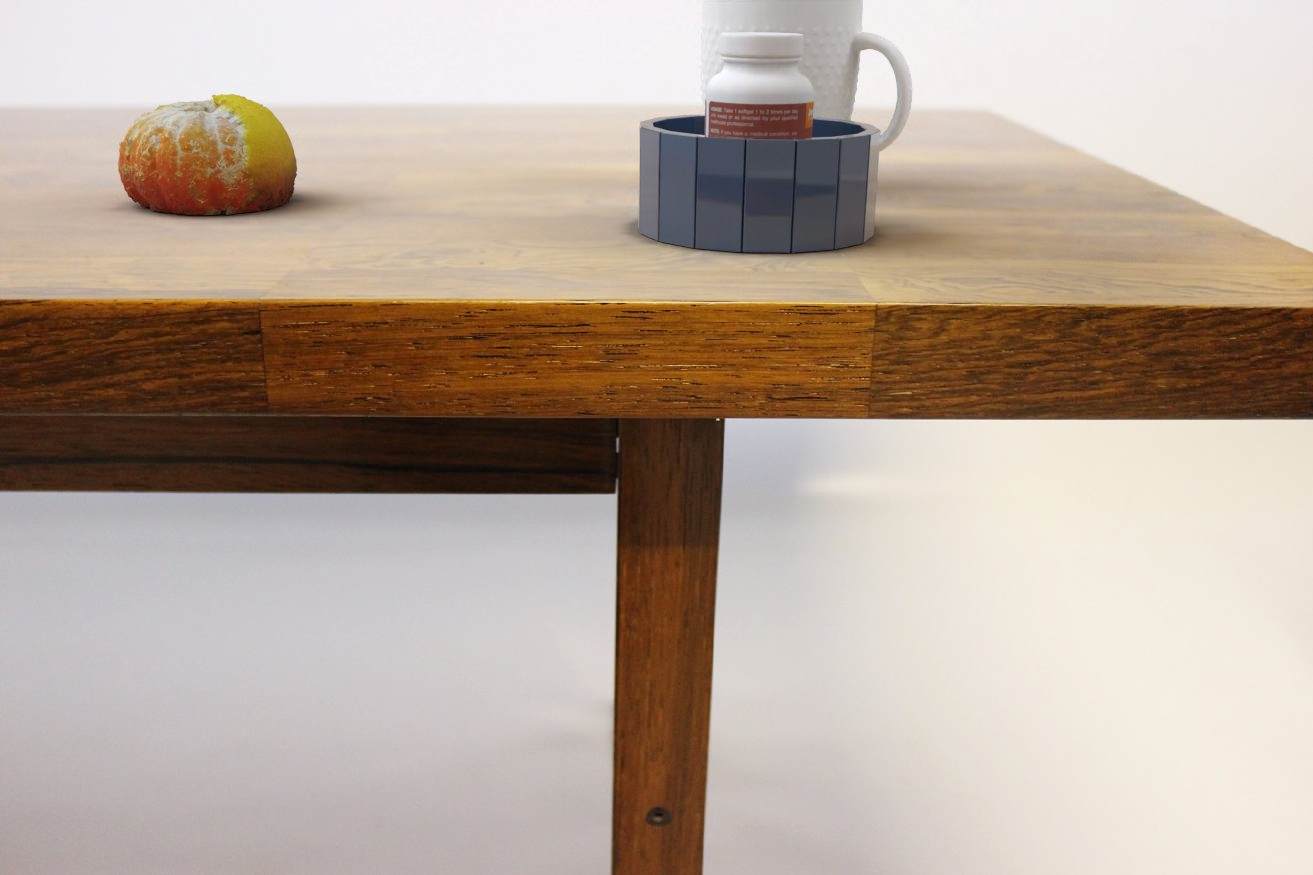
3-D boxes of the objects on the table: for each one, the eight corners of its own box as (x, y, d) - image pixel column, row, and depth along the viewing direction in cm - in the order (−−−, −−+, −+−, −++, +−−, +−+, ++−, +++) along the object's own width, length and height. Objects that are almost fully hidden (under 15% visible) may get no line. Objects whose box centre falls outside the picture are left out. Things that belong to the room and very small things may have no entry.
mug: (920, 183, 98) (935, -6, 94) (885, 205, 88) (900, -5, 84) (726, 169, 103) (732, -11, 99) (673, 189, 94) (677, -10, 89)
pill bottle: (823, 238, 77) (835, 35, 74) (721, 241, 76) (727, 35, 72) (785, 219, 83) (794, 30, 79) (689, 222, 81) (693, 30, 78)
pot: (893, 220, 83) (900, 121, 81) (840, 261, 71) (847, 145, 69) (684, 204, 88) (686, 109, 86) (602, 240, 76) (602, 131, 74)
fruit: (135, 182, 90) (160, 63, 88) (293, 228, 92) (321, 113, 90) (86, 206, 79) (113, 71, 77) (265, 257, 81) (296, 127, 79)
